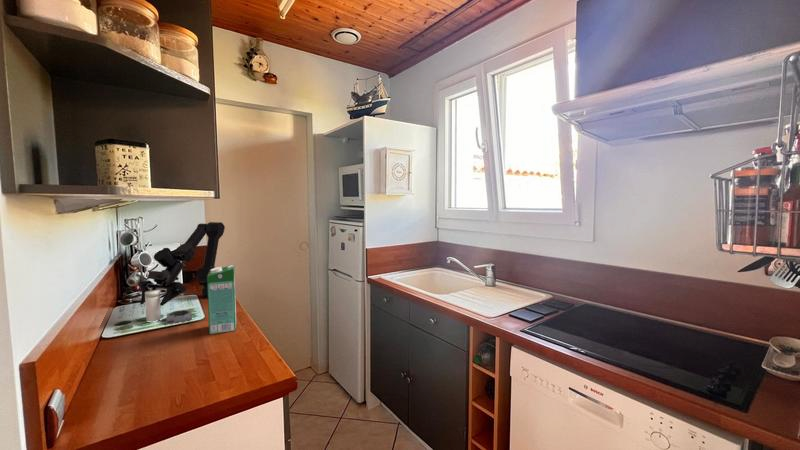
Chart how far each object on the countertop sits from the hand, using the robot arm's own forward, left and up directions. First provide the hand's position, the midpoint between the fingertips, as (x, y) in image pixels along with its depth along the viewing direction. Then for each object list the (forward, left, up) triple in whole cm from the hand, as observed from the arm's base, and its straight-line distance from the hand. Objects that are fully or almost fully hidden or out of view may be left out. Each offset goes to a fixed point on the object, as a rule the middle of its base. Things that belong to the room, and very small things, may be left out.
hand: (151, 304), depth 136 cm
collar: (-10, +3, -7) cm, 12 cm away
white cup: (-1, -1, -7) cm, 7 cm away
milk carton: (-25, +23, -7) cm, 35 cm away
